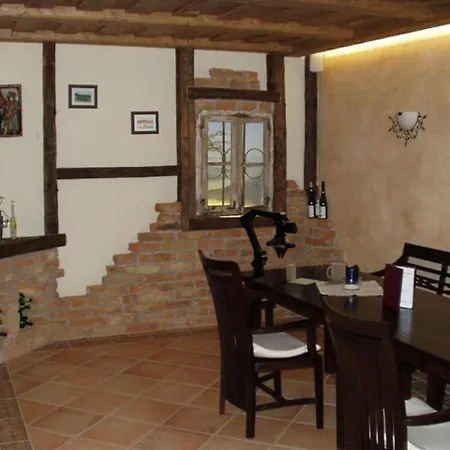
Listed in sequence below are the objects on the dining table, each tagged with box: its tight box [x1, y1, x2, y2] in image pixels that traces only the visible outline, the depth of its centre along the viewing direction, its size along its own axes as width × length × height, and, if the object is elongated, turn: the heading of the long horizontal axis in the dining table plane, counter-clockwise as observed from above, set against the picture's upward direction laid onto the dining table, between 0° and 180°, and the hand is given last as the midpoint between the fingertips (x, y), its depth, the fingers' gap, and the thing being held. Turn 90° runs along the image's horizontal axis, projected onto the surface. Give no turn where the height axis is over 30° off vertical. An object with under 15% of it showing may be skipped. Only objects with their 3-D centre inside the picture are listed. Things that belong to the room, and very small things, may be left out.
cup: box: [326, 262, 346, 283], centre depth 417 cm, size 8×12×10 cm
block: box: [285, 264, 297, 281], centre depth 422 cm, size 4×4×9 cm
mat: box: [286, 277, 319, 286], centre depth 416 cm, size 14×14×1 cm
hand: (280, 258), depth 426 cm, fingers closed
